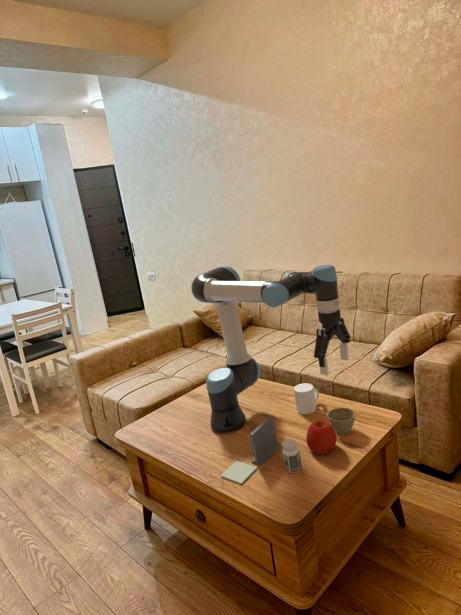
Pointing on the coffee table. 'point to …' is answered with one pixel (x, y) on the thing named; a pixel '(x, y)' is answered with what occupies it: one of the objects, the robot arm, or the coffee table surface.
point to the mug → (306, 398)
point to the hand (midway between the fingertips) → (335, 366)
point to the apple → (321, 437)
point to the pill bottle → (291, 456)
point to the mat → (238, 472)
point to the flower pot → (341, 419)
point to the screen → (264, 441)
